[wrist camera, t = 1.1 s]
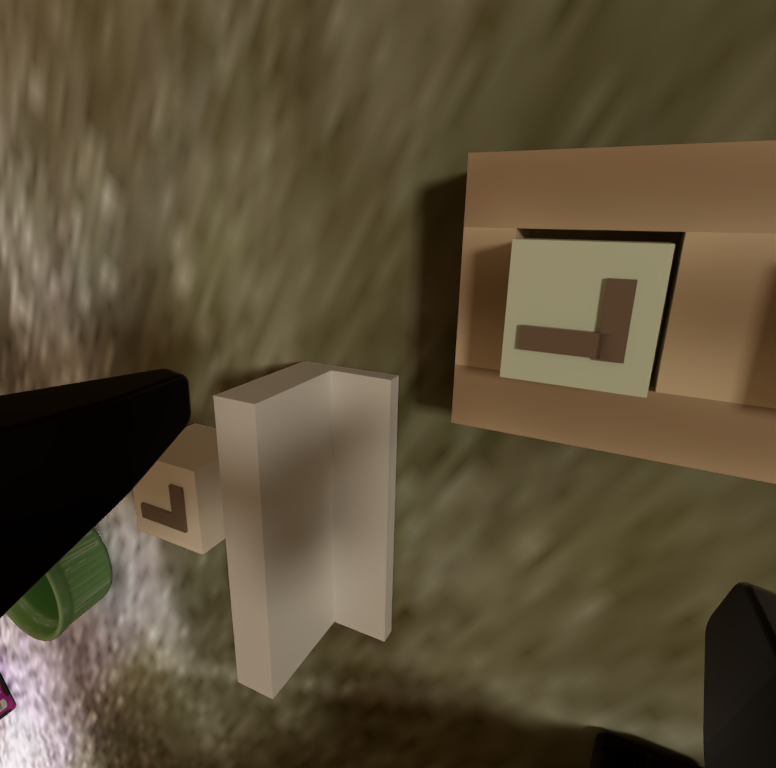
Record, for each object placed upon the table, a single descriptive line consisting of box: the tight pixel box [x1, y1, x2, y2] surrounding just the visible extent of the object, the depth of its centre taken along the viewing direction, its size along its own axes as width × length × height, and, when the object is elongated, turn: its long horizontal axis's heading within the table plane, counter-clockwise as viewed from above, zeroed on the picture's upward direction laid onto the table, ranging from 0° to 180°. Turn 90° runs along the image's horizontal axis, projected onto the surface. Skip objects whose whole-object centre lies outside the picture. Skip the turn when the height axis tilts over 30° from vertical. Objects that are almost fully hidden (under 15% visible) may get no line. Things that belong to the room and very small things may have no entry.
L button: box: [500, 238, 675, 398], centre depth 15 cm, size 4×4×3 cm
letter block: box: [133, 423, 226, 555], centre depth 27 cm, size 4×4×5 cm
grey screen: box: [213, 361, 399, 699], centre depth 23 cm, size 14×5×6 cm, turn 178°
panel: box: [451, 140, 776, 484], centre depth 15 cm, size 9×16×3 cm, turn 88°
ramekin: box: [6, 528, 112, 641], centre depth 37 cm, size 9×9×4 cm
